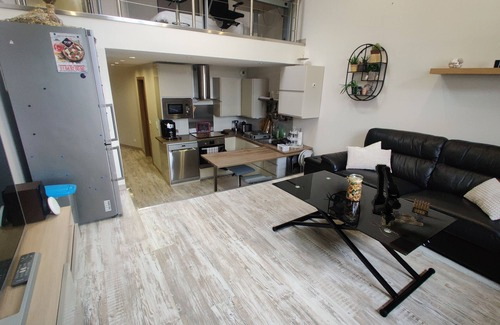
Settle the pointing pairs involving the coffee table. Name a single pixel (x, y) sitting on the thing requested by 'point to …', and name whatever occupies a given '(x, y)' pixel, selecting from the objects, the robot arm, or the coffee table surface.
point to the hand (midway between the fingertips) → (385, 222)
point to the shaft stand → (408, 218)
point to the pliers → (381, 227)
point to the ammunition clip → (420, 208)
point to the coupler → (385, 222)
